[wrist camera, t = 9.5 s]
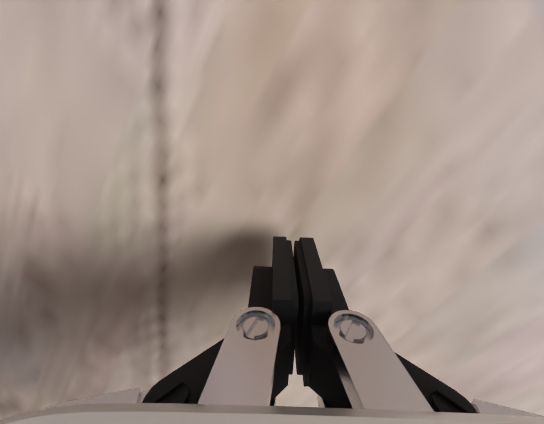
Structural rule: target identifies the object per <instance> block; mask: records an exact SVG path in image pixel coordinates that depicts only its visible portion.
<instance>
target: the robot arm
mask: <svg viewBox="0 0 544 424" xmlns="http://www.w3.org/2000/svg"><path fill="white" fill-rule="evenodd" d="M294 351H295V358H296V369H297V375H303V382H304V386H309V387H310V388H311V389H312V390H314V391H315V392H316V393H317V394H318V397H317V399H318V405H319V408H316V407H285V406H275V405H276V396H277V395H278V394H279V393H280V392H281V391H282V390H283V389H284V388H285V387H286V386H287V385H288V376H289V374H292V373H293V362H294ZM0 424H544V416H541V415H537V414H533V413H529V412H525V411H521V410H517V409H513V408H509V407H505V406H501V405H497V404H493V403H489V402H485V401H481V400H477V399H473V401H472V403H470V402H469V401H468V400H467V399H466V398H465V397H463V396H462V395H461V394H459V393H458V392H457V391H455V390H454V389H452V388H450V387H449V386H447V385H446V384H444V383H443V382H441V381H439V380H438V379H436V378H435V377H433V376H431V375H430V374H428V373H427V372H425V371H423V370H422V369H420V368H419V367H417V366H415V365H414V364H412V363H411V362H409V361H407V360H406V359H404V358H403V357H401V356H400V355H398V354H396V353H395V352H394V351H393V350H392V348H391V347H390V345H389V344H388V342H387V341H386V339H385V338H384V336H383V335H382V333H381V332H380V330H379V329H378V327H377V326H376V325H375V323H374V322H373V321H372V320H371V319H369V318H368V317H367V316H365V315H363V314H361V313H359V312H356V311H352V310H349V309H348V306H347V304H346V301H345V298H344V296H343V293H342V290H341V288H340V285H339V282H338V280H337V277H336V275H335V272H334V270H333V269H323V268H322V265H321V262H320V258H319V255H318V252H317V249H316V245H315V242H314V239H313V238H300V239H299V241H295V243H294V256H293V251H292V243H291V241H289V240H286V237H273V257H272V267H263V266H254V268H253V275H252V282H251V290H250V297H249V304H248V308H246V309H244V310H242V311H240V312H239V313H237V314H236V315H235V316H234V318H233V319H232V321H231V324H230V326H229V329H228V331H227V333H226V336H225V338H224V339H222V340H221V341H219V342H218V343H216V344H215V345H213V346H212V347H210V348H209V349H207V350H206V351H204V352H203V353H201V354H200V355H198V356H197V357H195V358H194V359H192V360H190V361H189V362H187V363H186V364H184V365H183V366H181V367H180V368H178V369H177V370H175V371H174V372H172V373H171V374H169V375H168V376H166V377H165V378H163V379H162V380H160V381H159V382H158V383H157V384H155V385H154V386H153V387H152V388H151V389H150V390H149V391H144V392H141V389H140V388H135V389H129V390H124V391H119V392H114V393H108V394H103V395H98V396H92V397H87V398H82V399H76V400H71V401H66V402H61V403H58V404H55V405H52V406H49V407H47V408H45V409H42V410H37V411H33V412H28V413H23V414H19V415H16V416H13V417H10V418H6V419H3V420H0Z"/></svg>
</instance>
